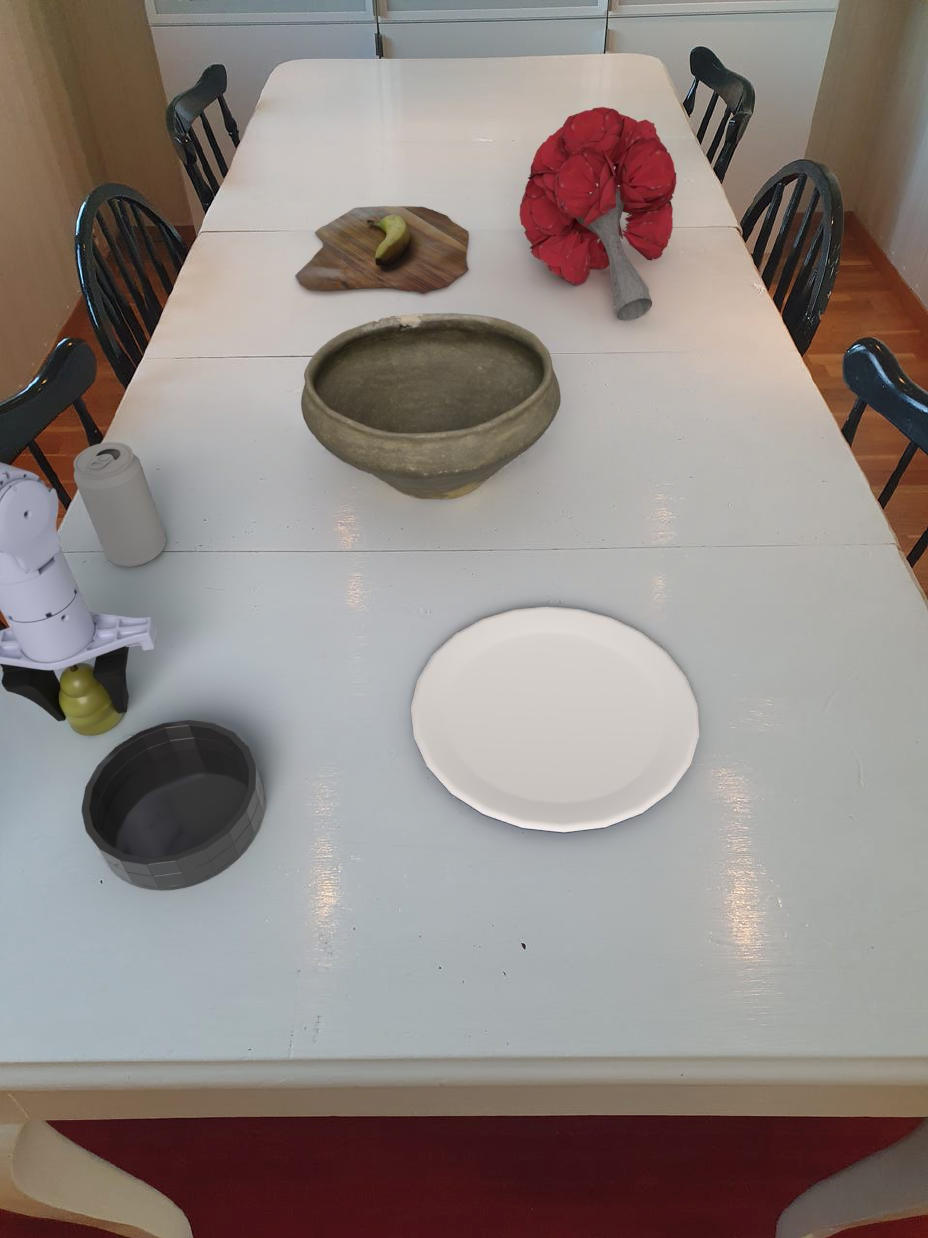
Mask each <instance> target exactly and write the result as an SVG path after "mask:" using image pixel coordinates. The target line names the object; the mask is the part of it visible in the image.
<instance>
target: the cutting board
mask: <svg viewBox="0 0 928 1238" xmlns="http://www.w3.org/2000/svg"><path fill="white" fill-rule="evenodd" d="M314 233H315V235H316V236H317V237H318V238H319V239H320V240H321V241H322V247H321V248H320V249H319V250H318V251H317V252H316V253H315V254H314V255H313V257H312V258H311V259H310V260H309V261H308V262H307V263H306V264H305V265H304V266H303V267H302V268H301V269H300V270H299V271H298V272H297V273H296V274H295V275H294V276H295V278H296V280H297V281H298V282H299V285H300V286H302V287H304V288H306V289H307V290H314V291H315V290H317V291H337V290H350V289H367V288H368V289H369V288H370V289H371V288H389V289H396V290H403V291H416V292H419V293H421V294H426V293H427V292H428V291H433V290H437V289H440V288H446V287H447V286H448V285H450V284H451V283H453V282H454V281H455V280H456V279H458V278H459V277H460V276H461V275H462V274H464V273H465V272H467V271H468V270H469V267H468V262H467V253H468V252H467V250H468V244H469V230H467V229H466V228H464V227H462V226H461V225H459V224H457V223H455V221H453V220H451V218H450V217H449V216H448V215H446V214H443V213H442V212H440V211H436V210H434V209H431V208H428V207H425V206H415V205H414V206H413V205H412V206H411V205H408V206H407V205H406V206H405V205H395V206H393V205H381V206H379V205H377V206H358V207H353V208H351V209H350V210H348V211H347V212H346V213H344V214H342V215H340V216H339V217H337V218H335V219H334V220H332V221H330V222H329V223H327V224H325V225H322V226H321V227H319V228H318V229H317V230H315V231H314Z"/></svg>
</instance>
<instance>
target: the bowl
mask: <svg viewBox="0 0 928 1238" xmlns="http://www.w3.org/2000/svg"><path fill="white" fill-rule="evenodd" d="M303 379H304V385H303V389H302V393H301V398H300V399H301V400H300V408H301V413H302V417H303V420H304V423H305V425H306V427H307V428H308V430H309V432H310V433H311V435H312V436H314V438H315V440H317V441H318V443H319V444H321V446H322V447H323V448H324V449H326V450H327V451H328V452H329V453H330V454H331V455H333V456H335V457H336V458H337V459H338V460H340V461H341V462H343V463H345V464H347V465H349V466H350V467H353V468H355V469H357V470H359V471H362V472H364V473H367V474H370V475H373V476H374V477H375V478H377V479H379V480H380V481H382V482H384V483H385V484H387V485H389V486H390V487H391V488H393V489H394V490H396V491H397V492H398V493H401V494H403V495H406V496H408V497H412V498H415V499H421V500H426V499H427V500H429V499H430V500H451V499H456V498H460V497H463V496H465V495H467V494H469V493H471V492H473V491H475V490H477V489H478V488H479V487H480V486H481V485H482V484H484V483H485V482H486V481H487V480H488V479H490V478H491V477H493V476H494V475H495V474H496V473H497V472H499V471H500V470H501V469H502V468H504V467H505V466H506V465H508V464H510V463H511V462H513V461H514V460H515V459H516V458H518V457H519V456H521V455H522V454H523V453H525V452H526V451H527V450H529V449H530V448H532V446H534V444H536V443H537V441H539V440H540V438H541V437H543V435H544V434H545V433H546V431H547V430H548V429H549V428H550V426H551V424H552V423H553V421H554V420H555V418H556V416H557V414H558V411H559V410H560V407H561V400H562V399H561V398H562V396H561V388H560V384H559V380H558V377H557V375H556V373H555V370H554V365H553V360H552V357H551V354H550V351H549V349H548V348H547V347H546V346H545V345H544V344H543V342H542V341H541V340H540V339H539V337H538V336H537V335H535V334H534V333H533V332H532V331H530V330H528V329H526V328H524V327H522V326H520V325H518V324H516V323H512V322H510V321H508V320H506V319H505V320H504V319H501V318H497V317H493V316H488V315H479V314H471V313H457V312H456V313H455V312H449V313H448V312H443V313H441V312H439V313H437V312H436V313H413V314H404V315H391V316H390V317H383V318H380V319H378V321H376V320H373V321H369V322H366V323H363V324H360V325H358V326H355V327H352V328H350V329H347V330H345V331H343V332H341V333H339V334H338V335H336V336H334V337H333V338H331V339H330V340H328V341H327V342H325V343H324V344H323V345H322V346H321V347H320V348H319V349H318V350H317V351H316V352H314V354H313V355H312V357H311V358H310V360H309V361H308V363H307V365H306V367H305V369H304V374H303Z"/></svg>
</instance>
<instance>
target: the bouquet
mask: <svg viewBox="0 0 928 1238" xmlns="http://www.w3.org/2000/svg"><path fill="white" fill-rule="evenodd" d="M655 125H656V124H655V122H651V121H649V120H648V119H643V120H640V121H638V120H637V119H635V118H632V117H630V116H627V115H625V114H622V113H620V112H619V111H618V110H617V109H614V108H610V107H605V106H600V107H593V108H592V109H587V110H583V111H581V112H578V113H574V114H572V115H569V116H567V119H565V121H564V123H563V124H562V126H561V127H560V128H559V129H557V130H556V132H553V134H550V135H549V136H548V137H547V139H546V140H545V141H543V142H542V143H541V145H540V146H539V147H538V148H537V150H536V152H535V154H534V157H533V159H532V160H533V161H532V163H531V165H530V173H529V175H528V177H527V179H528V181H527V183H526V184H525V187H524V193H523V196H522V198H521V203H520V204H519V221H520V225H521V226H522V227H523V228H524V230H525V231H524V235H525V237H526V240H527V241H528V242H529V243H530V244H531V246H530V247H529V250H530V253H531V255H532V256H533V257H534V258H535V259H537V260H539V261H540V260H541V262H542V263H544V264H545V265H546V266H547V268H548V270H550V272H552V273H553V274H554V275H556V276H559V277H560V278H561V279H563V280H565V281H567V282H569V283H572V284H573V285H575V286H579V285H581V284H584V283H585V282H586V281H587V279H588V277H589V275H590V270H604V269H607V268H608V267H609V272H610V287H611V295H612V301H613V306H614V307H615V310H616V313H617V318H618V319H620V320H622V321H632V320H634V319H638V318H640V317H642V316H643V315H645V314H646V313H648V312H649V311H650V309H651V308H652V306H653V301H652V298H651V296H650V291H649V289H648V287H647V285H646V284H645V282H644V280H643V279H642V277H641V275H640V274H639V272H638V270H637V269H636V268H635V266H634V265H633V264H632V263H631V261H630V259H629V258H628V256H627V254H626V252H625V251H624V248H623V245H622V241H621V239H622V240H624V238H625V239H626V241H627V242H628V245H630V246H631V247H632V248H633V249H634V250H636V251H637V252H638V253H639V254H640V255H641V256H642V257H643V258H645V259H646V260H647V261H651V262H652V261H653V260H658V259H661V258H662V256H663V253H664V251H665V249H666V248H667V247H668V243H669V241H670V239H671V237H672V234H673V230H674V229H673V228H674V226H673V225H674V224H673V219H674V218H673V211H674V207H673V204H672V200H673V199H674V196H673V195H674V194H675V190H676V186H677V172H676V171H675V163H674V160H673V158H672V156H671V153H670V152H668V148H667V147H666V146H665V144H664V143H663V142H662V141H661V138H660V136H659V135H658V134H657V128H656V127H655ZM623 213H625V214H627V215H626V218H624V220H625V221H626V222H627V223H625V225H624V227H625V229H622V227H621V218H622V215H623Z"/></svg>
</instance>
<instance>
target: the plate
mask: <svg viewBox="0 0 928 1238" xmlns="http://www.w3.org/2000/svg"><path fill="white" fill-rule="evenodd" d="M410 715H411V722H412V731H413V732H412V733H413V739H414V741H415V744H416V746H417V748H418V750H419V752H420V755H421V757H422V759H423V762H424V763H425V765H426V768H427V769H428V770H429V771H430V772H431V774H432V775H433V776H434V777H435V778H436V779H437V780H438V782H439V783H440V784H441V785H442V786H443V787H444V788H445V789H446V790H447V792H448V793H449V794H450V795H451V796H453V797H455V798H456V799H458V800H459V801H460V802H462V803H464V804H465V805H466V806H468V807H469V808H471V809H473V810H474V811H476V812H477V813H479V814H481V815H482V816H484V817H486V818H489V819H493V820H495V821H499V822H501V823H503V824H507V825H510V826H513V827H515V828H518V829H521V830H529V831H537V832H538V831H539V832H547V833H557V834H570V833H571V834H572V833H580V832H586V831H595V830H603V829H608V828H609V827H613V826H615V825H617V824H620V823H623V822H625V821H628V820H631V819H633V818H636V817H638V816H641V815H643V814H645V813H646V812H647V811H649V810H650V809H651V808H652V807H654V806H655V805H656V804H658V803H659V802H661V801H662V800H663V799H665V798H666V797H667V796H668V795H670V794H671V793H672V792H673V790H674V789H675V788H676V786H677V785H678V784H679V782H680V781H681V779H682V778H683V776H684V775H685V774H686V773H687V771H688V770H689V768H690V767H691V765H692V761H693V758H694V755H695V751H696V748H697V745H698V741H699V738H700V724H699V706H698V703H697V701H696V698H695V695H694V693H693V690H692V687H691V684H690V683H689V680H688V678H687V676H686V674H685V673H684V672H683V670H681V668H680V667H679V666H678V664H677V663H676V662H675V660H674V659H673V657H671V656H670V654H669V652H667V651H666V650H664V649H663V648H662V647H661V646H659V645H658V644H657V643H656V642H655V641H653V640H652V639H651V638H650V637H648V636H647V635H646V634H644V633H643V632H642V631H640V630H637V629H635V628H633V627H632V626H629V625H628V624H626V623H623V622H621V621H619V620H617V619H615V618H613V617H610V616H608V615H607V616H606V615H603V614H600V613H595V612H593V611H592V612H591V611H587V610H585V609H580V608H571V607H560V606H549V605H548V606H536V607H525V608H515V609H510V610H507V611H504V612H500V613H498V614H494V615H491V616H488V617H485V618H481V619H479V620H478V621H476V622H473V623H472V624H470V625H469V626H467V627H465V628H463V629H461V630H459V631H458V632H456V633H454V634H453V635H452V636H451V637H450V638H449V639H447V640H446V641H445V643H443V644H442V645H441V646H440V647H439V648H438V649H437V650H436V651H435V652H434V653H433V654H431V656H430V658H429V660H428V661H427V663H426V664H425V666H424V667H423V669H422V671H421V672H420V675H418V678H417V680H416V684H415V688H414V693H413V696H412V701H411V706H410Z"/></svg>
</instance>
